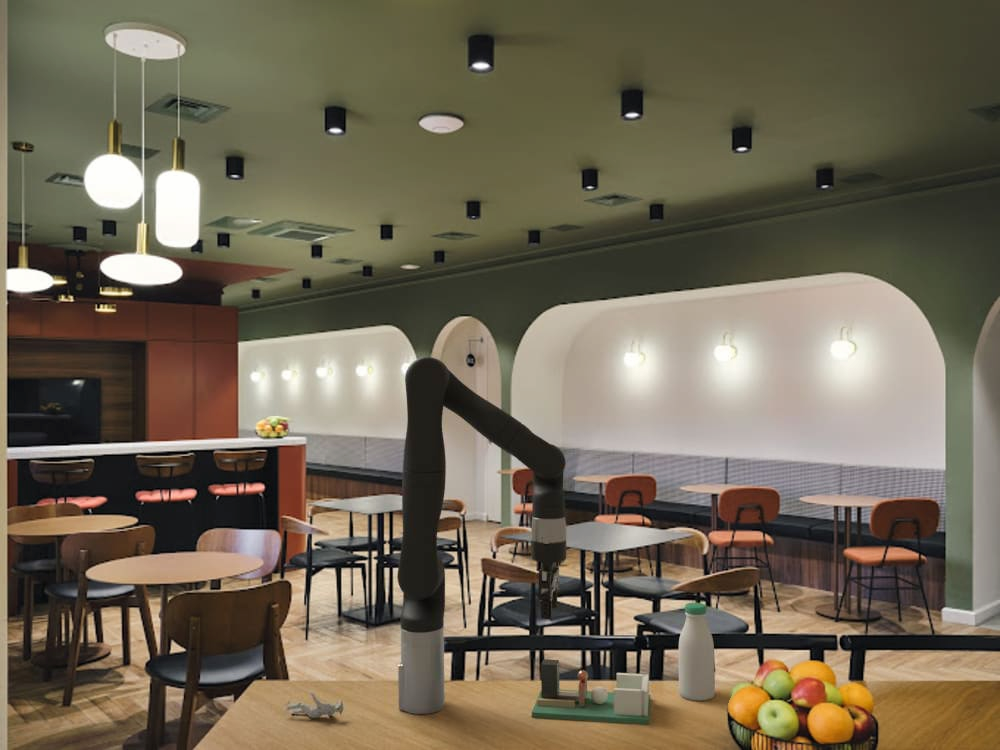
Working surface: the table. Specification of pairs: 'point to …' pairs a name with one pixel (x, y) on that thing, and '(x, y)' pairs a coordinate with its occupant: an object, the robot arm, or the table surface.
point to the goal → (631, 694)
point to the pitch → (584, 710)
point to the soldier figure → (316, 708)
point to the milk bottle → (696, 656)
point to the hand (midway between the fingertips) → (549, 613)
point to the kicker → (552, 683)
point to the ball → (599, 695)
